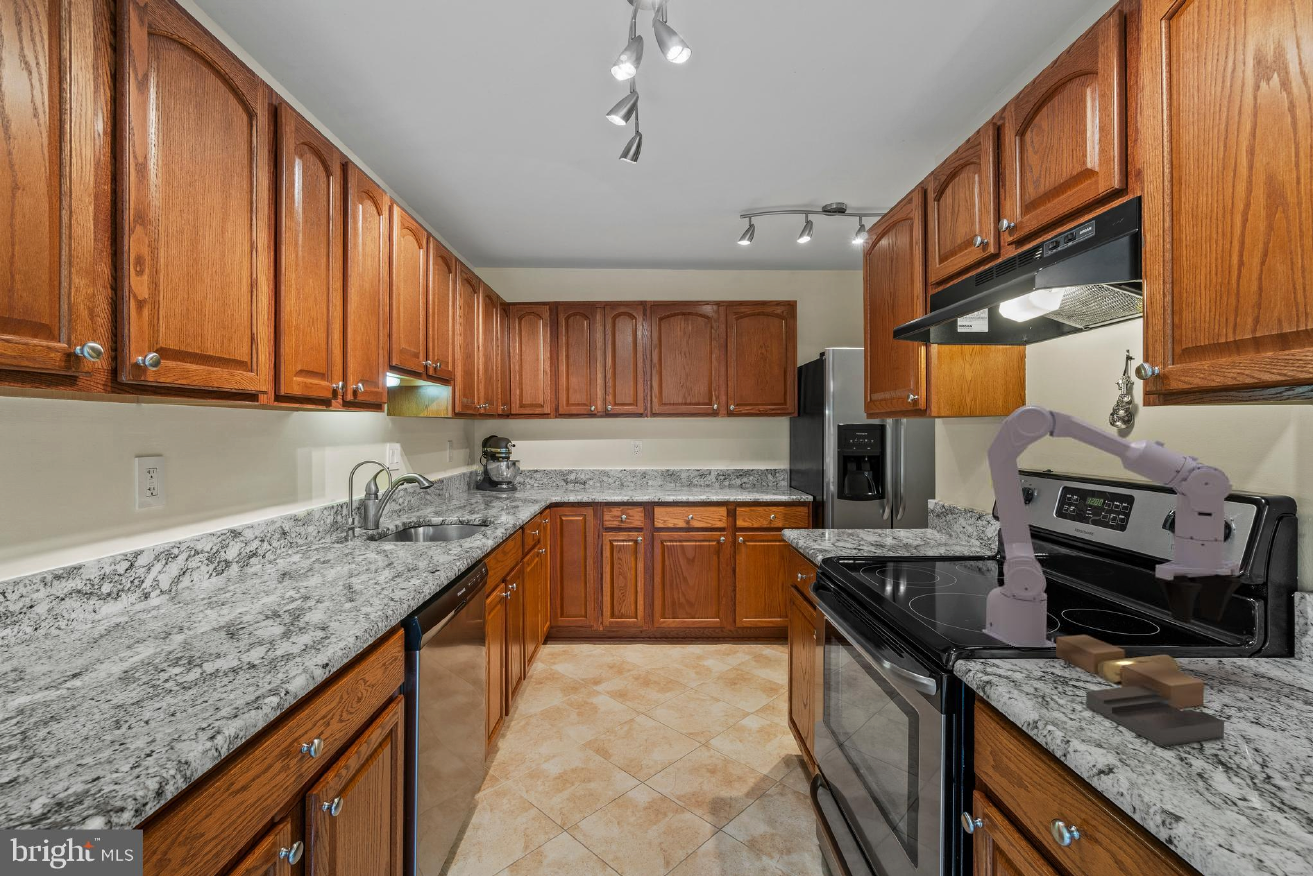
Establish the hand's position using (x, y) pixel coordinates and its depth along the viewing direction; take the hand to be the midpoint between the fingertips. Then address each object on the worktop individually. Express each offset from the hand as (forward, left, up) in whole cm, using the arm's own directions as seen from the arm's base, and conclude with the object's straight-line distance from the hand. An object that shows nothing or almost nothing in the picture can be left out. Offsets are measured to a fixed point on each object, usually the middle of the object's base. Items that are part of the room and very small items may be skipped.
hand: (1196, 619), depth 91 cm
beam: (0, -15, -8) cm, 17 cm away
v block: (+11, -24, -8) cm, 27 cm away
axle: (0, -12, -9) cm, 14 cm away
